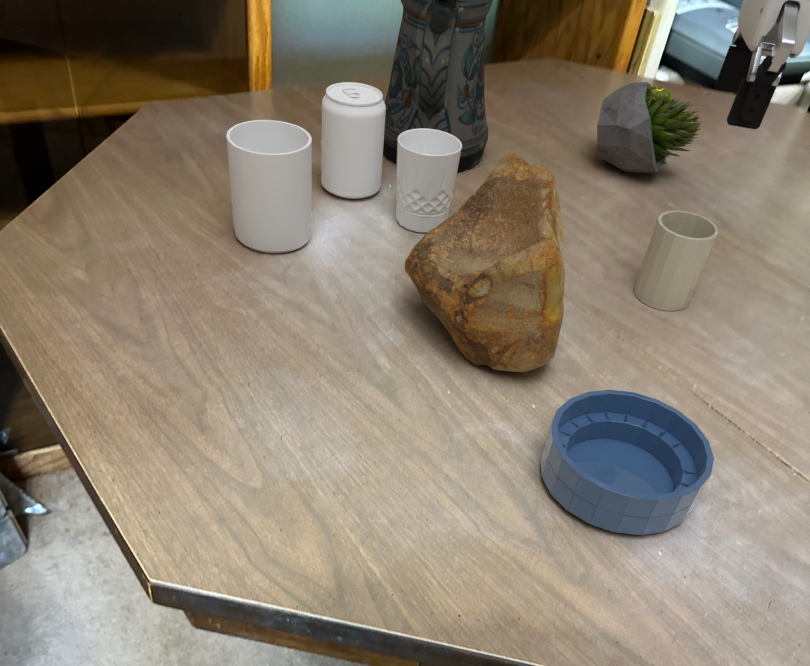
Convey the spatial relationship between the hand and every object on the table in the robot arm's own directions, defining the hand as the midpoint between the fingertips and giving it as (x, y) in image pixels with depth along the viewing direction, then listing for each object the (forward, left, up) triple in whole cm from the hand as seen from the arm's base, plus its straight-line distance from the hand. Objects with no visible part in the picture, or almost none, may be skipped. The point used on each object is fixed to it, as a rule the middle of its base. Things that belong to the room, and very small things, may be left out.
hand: (735, 107), depth 79 cm
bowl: (+11, +35, -21) cm, 42 cm away
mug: (+49, -4, -21) cm, 53 cm away
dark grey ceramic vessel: (+30, -32, -21) cm, 48 cm away
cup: (+1, +1, -21) cm, 21 cm away
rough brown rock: (+24, +11, -21) cm, 34 cm away
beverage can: (+41, -18, -21) cm, 49 cm away
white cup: (+31, -11, -21) cm, 39 cm away
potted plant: (-1, -36, -21) cm, 42 cm away
